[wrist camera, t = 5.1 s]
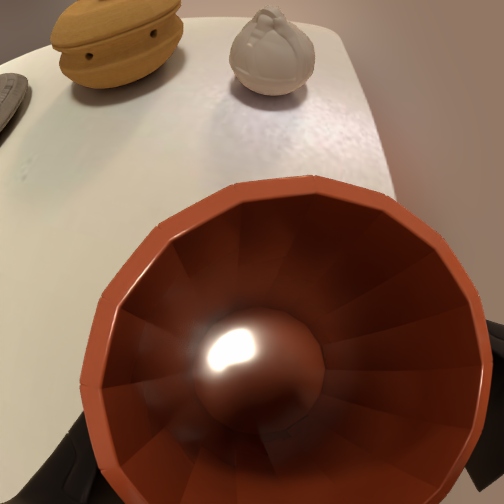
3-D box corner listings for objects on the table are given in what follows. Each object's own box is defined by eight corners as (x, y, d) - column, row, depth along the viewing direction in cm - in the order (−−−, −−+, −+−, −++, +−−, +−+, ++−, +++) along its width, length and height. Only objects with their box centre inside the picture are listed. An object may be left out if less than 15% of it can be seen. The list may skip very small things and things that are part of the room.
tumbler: (312, 444, 13) (440, 545, 2) (174, 421, 13) (67, 520, 2) (336, 316, 15) (488, 230, 5) (204, 289, 15) (158, 145, 5)
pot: (136, 35, 25) (125, -35, 16) (211, 55, 23) (211, -36, 14) (53, 90, 21) (22, 16, 12) (114, 123, 19) (78, 15, 10)
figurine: (325, 91, 22) (349, 14, 14) (270, 123, 20) (286, 28, 12) (270, 58, 23) (279, -13, 16) (212, 84, 21) (210, 1, 14)
